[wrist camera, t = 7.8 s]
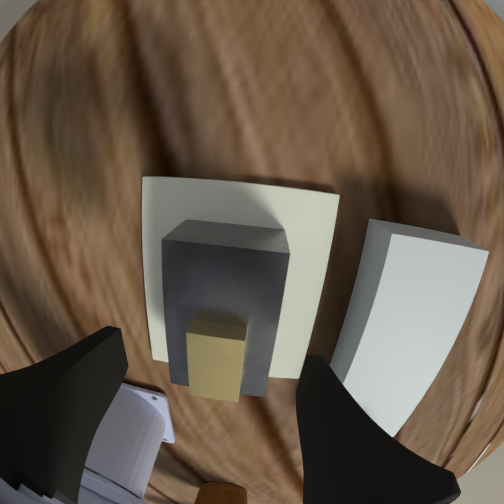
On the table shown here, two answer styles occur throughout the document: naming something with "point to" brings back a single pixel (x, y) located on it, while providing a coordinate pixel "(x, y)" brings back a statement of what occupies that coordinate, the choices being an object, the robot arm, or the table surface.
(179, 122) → the table surface
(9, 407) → the robot arm
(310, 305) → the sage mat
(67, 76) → the table surface
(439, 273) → the white rectangular block
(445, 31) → the table surface
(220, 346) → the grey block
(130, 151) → the table surface
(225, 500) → the disposable coffee cup
